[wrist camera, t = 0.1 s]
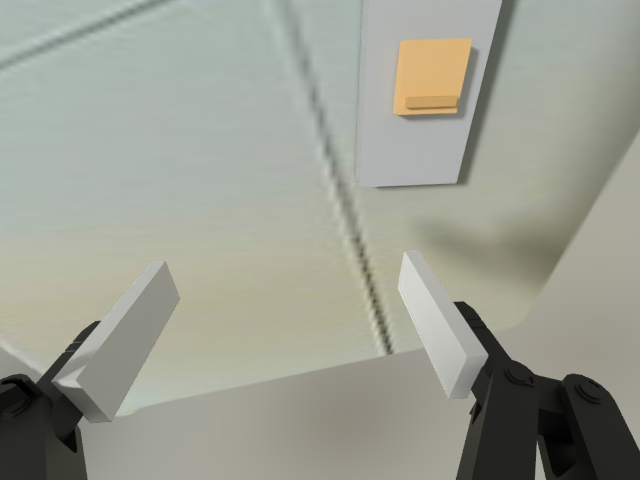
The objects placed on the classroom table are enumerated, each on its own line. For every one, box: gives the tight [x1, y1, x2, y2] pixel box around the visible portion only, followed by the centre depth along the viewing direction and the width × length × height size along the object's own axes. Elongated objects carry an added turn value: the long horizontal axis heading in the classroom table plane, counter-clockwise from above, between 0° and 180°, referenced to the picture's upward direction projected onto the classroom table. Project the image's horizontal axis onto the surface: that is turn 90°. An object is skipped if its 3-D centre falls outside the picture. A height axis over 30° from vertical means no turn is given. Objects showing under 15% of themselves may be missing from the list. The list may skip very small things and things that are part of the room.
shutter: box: [393, 38, 473, 115], centre depth 30 cm, size 7×7×3 cm
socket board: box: [355, 0, 502, 187], centre depth 33 cm, size 26×14×4 cm, turn 2°
